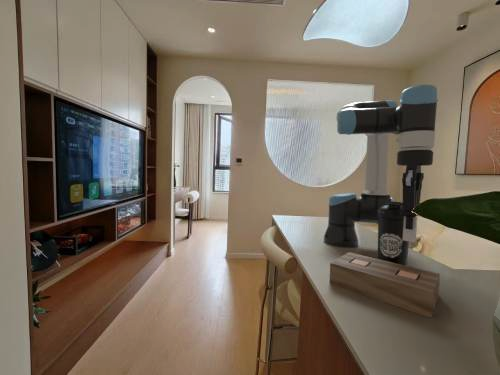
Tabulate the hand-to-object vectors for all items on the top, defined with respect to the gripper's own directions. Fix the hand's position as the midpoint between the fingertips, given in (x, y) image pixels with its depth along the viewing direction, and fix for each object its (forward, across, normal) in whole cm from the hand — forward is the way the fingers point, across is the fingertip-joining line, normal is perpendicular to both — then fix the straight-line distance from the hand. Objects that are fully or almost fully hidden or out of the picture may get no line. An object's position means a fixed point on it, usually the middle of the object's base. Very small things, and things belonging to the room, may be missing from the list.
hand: (409, 240), depth 62 cm
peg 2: (+15, +1, 0) cm, 15 cm away
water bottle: (+16, -18, -7) cm, 25 cm away
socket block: (+15, +1, -6) cm, 16 cm away
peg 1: (+15, +1, -12) cm, 19 cm away
